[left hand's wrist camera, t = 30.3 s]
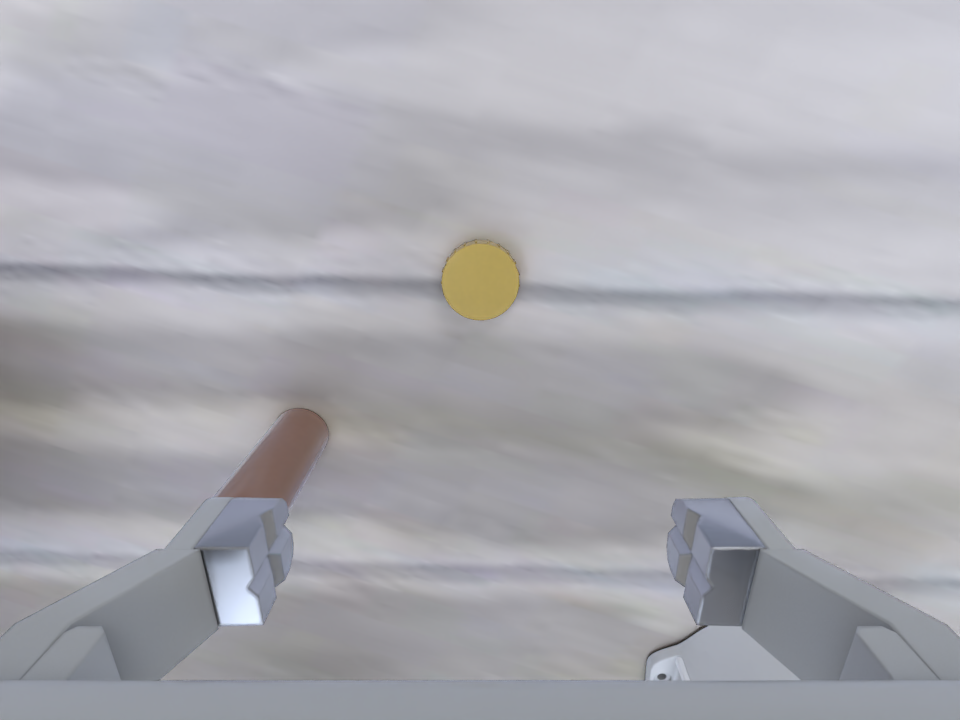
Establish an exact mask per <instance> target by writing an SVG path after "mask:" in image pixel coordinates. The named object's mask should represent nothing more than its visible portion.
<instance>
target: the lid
mask: <svg viewBox="0 0 960 720" xmlns="http://www.w3.org/2000/svg"><path fill="white" fill-rule="evenodd" d="M446 261H447V262H446V265H445V267H443V270H442V272H443V275H442V281H441V284H442V289H443V294H444V296H445V298H446V300H447V302H448V304H449V305H450V306H451V307H452V309H454V310H455V311H456V312H457V313H459V314H460V315H462V316H464V317H466V318H469V319H473V320H488V319H492V318H495V317H497V316H499V315H501V314H502V313H504V312H505V311H506V310H507V309H508V308H509V307H510V306H511V305H512V303H513V302H514V300H515V298H516V296H517V293H518V289H519V286H520V285H519V272H518V270H517V268H516V265H515V264H516V262H515V260H513V259H512V257H511V256H510V254H509V251H508V250H507V251H506V250H505V249H504V248H503V247H501V246H500V244H496V243H493V242H490V241H489V240H487V241H486V240H477V239H475V241H470V242H467V243H466V242H464V244H463V245H461V246H460V247H458V248H457V249H456V248H455V249H454V252H453V253H452V254H451V255H450V257H448V258H447V260H446Z"/></svg>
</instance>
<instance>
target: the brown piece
mask: <svg viewBox="0 0 960 720" xmlns="http://www.w3.org/2000/svg"><path fill="white" fill-rule="evenodd" d="M328 439H329V432H328V428H327V425H326V424H325V422H324V421H323V419H322V418H321V417H320V416H319V415H317V414H316V413H314V412H312V411H310V410H307V409H301V408H296V409H290V410H287V411H285V412H284V413H282V414H281V415H280V416H279V417H278V418H277V420H276V421H275V422H274V423H273V424H272V426H271V427H270V428H269V429H268V431H267V432H266V433H265V434H264V435H263V437H262V438H261V439H260V440H259V442H258V443H257V444H256V445H255V446H254V448H253V449H252V450H251V451H250V453H249V454H248V455H247V456H246V457H245V459H244V460H243V461H242V462H241V464H240V465H239V466H238V467H237V468H236V470H235V471H234V472H233V473H232V474H231V476H230V477H229V478H228V479H227V481H226V482H225V483H224V484H223V485H222V487H221V488H220V489H219V490H218V492H217V493H216V494H215V495H214V496H213V497H234V498H236V497H247V498H283V499H284V500H285V501H286V502H287V507H288V512H289V511H290V509H291V507H292V506H293V504H294V502H295V500H296V498H297V497H298V495H299V493H300V491H301V489H302V488H303V486H304V484H305V482H306V481H307V479H308V477H309V475H310V473H311V472H312V470H313V468H314V466H315V464H316V463H317V461H318V459H319V457H320V456H321V454H322V452H323V450H324V448H325V447H326V445H327V443H328Z"/></svg>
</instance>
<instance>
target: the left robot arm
mask: <svg viewBox="0 0 960 720" xmlns="http://www.w3.org/2000/svg"><path fill="white" fill-rule="evenodd" d="M288 516H289V512H288V507H287V502H286V501H285V500H284V499H283V498H247V497H236V498H234V497H212V498H209V499H206V500H205V501H204V503H203V504H202V505H201V506H200V507H199V509H198V510H197V511H196V512H195V513H194V514H193V516H192V517H191V518H190V519H189V520H188V522H187V523H186V524H185V525H184V526H183V528H182V529H181V530H180V531H179V532H178V533H177V535H176V536H175V537H174V538H173V539H172V541H171V542H170V543H169V544H168V545H167V547H166V548H165V549H156V550H154V551H152V552H150V553H148V554H146V555H145V556H143V557H141V558H139V559H137V560H135V561H133V562H131V563H129V564H127V565H126V566H124V567H122V568H120V569H118V570H116V571H114V572H112V573H110V574H108V575H107V576H105V577H103V578H101V579H99V580H97V581H95V582H93V583H91V584H89V585H87V586H86V587H84V588H82V589H80V590H78V591H76V592H74V593H72V594H70V595H68V596H67V597H65V598H63V599H61V600H59V601H57V602H55V603H53V604H51V605H49V606H47V607H46V608H44V609H42V610H40V611H38V612H36V613H34V614H32V615H30V616H28V617H27V618H25V619H23V620H21V621H19V622H17V623H15V624H14V625H13V626H12V627H11V628H10V629H9V630H8V631H7V632H6V633H4V634H3V635H2V636H1V637H0V720H960V637H959V636H958V635H957V634H956V633H955V632H954V631H953V630H952V629H951V628H950V627H949V626H948V625H946V624H944V623H943V622H941V621H939V620H937V619H935V618H933V617H931V616H929V615H927V614H925V613H924V612H922V611H920V610H918V609H916V608H914V607H912V606H910V605H908V604H907V603H905V602H903V601H901V600H899V599H897V598H895V597H893V596H891V595H889V594H888V593H886V592H884V591H882V590H880V589H878V588H876V587H874V586H872V585H870V584H869V583H867V582H865V581H863V580H861V579H859V578H857V577H855V576H853V575H851V574H850V573H848V572H846V571H844V570H842V569H840V568H838V567H836V566H834V565H832V564H831V563H829V562H827V561H825V560H823V559H821V558H819V557H817V556H815V555H813V554H812V553H810V552H808V551H806V550H804V549H795V548H794V547H793V545H792V544H791V543H790V542H789V541H788V539H787V538H786V537H785V536H784V535H783V534H782V532H781V531H780V530H779V529H778V528H777V526H776V525H775V524H774V523H773V522H772V520H771V519H770V518H769V517H768V516H767V515H766V513H765V512H764V511H763V510H762V509H761V507H760V506H759V505H758V504H757V503H756V502H755V500H753V499H751V498H749V497H728V498H705V499H675V501H674V503H673V506H672V512H671V516H672V518H673V520H674V522H675V524H676V526H675V527H674V528H673V529H672V530H671V531H670V532H669V533H668V538H667V558H668V563H669V566H670V570H671V572H672V575H673V577H674V579H675V580H676V581H677V582H678V583H680V584H681V585H682V586H684V587H685V591H684V597H683V598H684V600H685V602H686V604H687V606H688V608H689V610H690V612H691V614H692V616H693V618H694V621H695V623H696V625H709V626H707V627H705V628H703V629H701V630H700V631H698V632H696V633H695V634H694V635H692V636H691V637H689V638H688V639H686V640H685V641H683V642H682V643H680V644H678V645H674V646H671V647H668V648H665V649H662V650H659V651H657V652H655V653H653V654H651V655H650V656H649V657H648V659H647V665H646V675H645V680H416V681H159V680H160V679H161V678H162V677H163V676H165V675H166V674H167V673H168V672H169V671H170V670H172V669H173V668H174V667H175V666H176V665H177V664H178V663H180V662H181V661H182V660H183V659H184V658H185V657H187V656H188V655H189V654H190V653H191V652H192V651H194V650H195V649H196V648H197V647H198V646H199V645H200V644H202V643H203V642H204V641H205V640H206V639H207V638H209V637H210V636H211V635H212V634H213V633H214V632H216V631H217V630H218V626H248V625H264V623H265V621H266V619H267V616H268V614H269V612H270V610H271V608H272V606H273V604H274V602H275V600H276V598H277V596H276V591H275V587H276V586H278V585H279V584H280V583H282V582H283V581H284V580H285V579H286V577H287V574H288V572H289V570H290V567H291V562H292V557H293V537H292V533H291V532H290V531H289V530H288V529H287V528H286V527H285V526H284V524H285V522H286V520H287V518H288Z"/></svg>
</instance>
